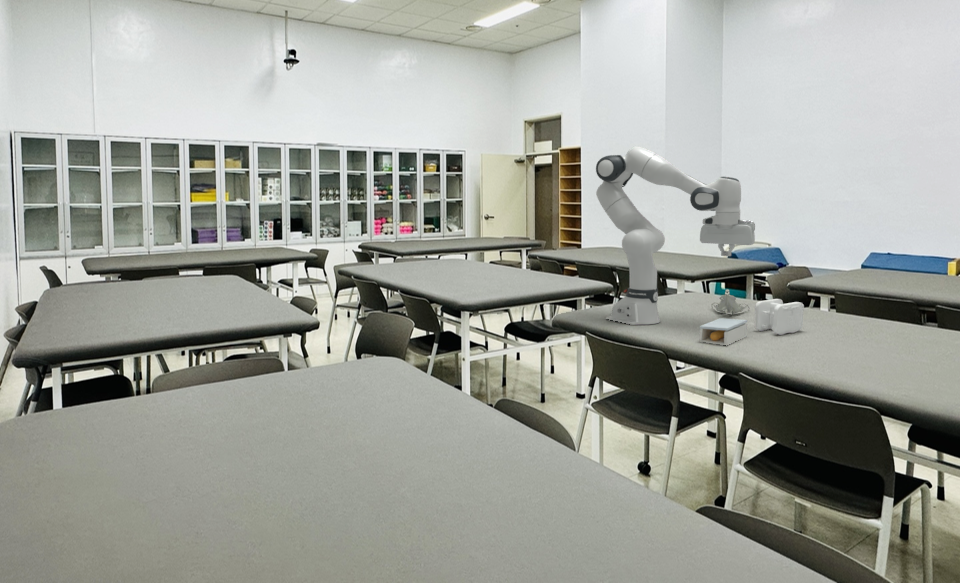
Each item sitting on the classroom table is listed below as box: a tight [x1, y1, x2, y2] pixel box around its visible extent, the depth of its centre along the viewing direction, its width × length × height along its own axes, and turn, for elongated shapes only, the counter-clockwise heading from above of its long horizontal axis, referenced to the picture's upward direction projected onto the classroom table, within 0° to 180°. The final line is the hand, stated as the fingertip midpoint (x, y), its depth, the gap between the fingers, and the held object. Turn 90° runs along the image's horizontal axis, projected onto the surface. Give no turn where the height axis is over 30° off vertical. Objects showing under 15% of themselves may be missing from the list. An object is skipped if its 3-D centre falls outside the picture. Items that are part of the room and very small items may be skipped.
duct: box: [698, 323, 748, 347], centre depth 232 cm, size 10×18×5 cm, turn 137°
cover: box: [699, 317, 748, 331], centre depth 232 cm, size 10×18×1 cm, turn 136°
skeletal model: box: [711, 289, 750, 315], centre depth 278 cm, size 16×9×25 cm
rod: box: [710, 330, 725, 340], centre depth 233 cm, size 3×16×3 cm
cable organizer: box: [753, 298, 805, 336], centre depth 242 cm, size 15×11×12 cm
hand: (726, 255), depth 245 cm, fingers closed
